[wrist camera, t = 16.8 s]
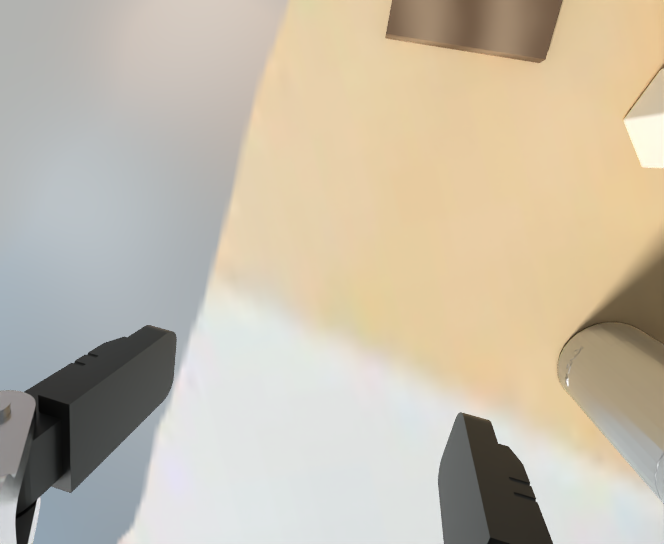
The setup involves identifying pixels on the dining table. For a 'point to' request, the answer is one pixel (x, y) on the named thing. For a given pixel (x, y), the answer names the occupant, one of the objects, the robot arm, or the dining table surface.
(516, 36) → the brown board with bracket
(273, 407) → the dining table surface
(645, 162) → the jar
